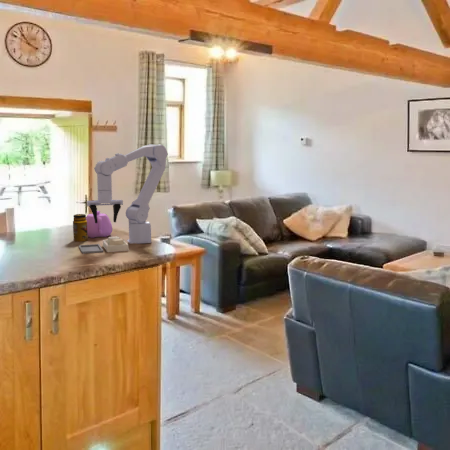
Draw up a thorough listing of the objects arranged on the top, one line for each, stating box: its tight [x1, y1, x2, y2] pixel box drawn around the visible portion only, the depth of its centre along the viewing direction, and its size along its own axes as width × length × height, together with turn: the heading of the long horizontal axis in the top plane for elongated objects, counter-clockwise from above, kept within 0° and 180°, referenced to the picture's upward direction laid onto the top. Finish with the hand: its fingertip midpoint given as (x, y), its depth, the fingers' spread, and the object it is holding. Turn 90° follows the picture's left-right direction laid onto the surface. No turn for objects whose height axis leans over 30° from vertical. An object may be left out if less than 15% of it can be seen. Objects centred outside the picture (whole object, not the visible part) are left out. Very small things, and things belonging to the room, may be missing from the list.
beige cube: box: [110, 238, 124, 245], centre depth 209 cm, size 4×4×4 cm
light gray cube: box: [107, 235, 121, 245], centre depth 214 cm, size 4×4×4 cm
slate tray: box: [78, 243, 105, 255], centre depth 210 cm, size 8×13×1 cm, turn 21°
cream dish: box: [102, 238, 129, 253], centre depth 212 cm, size 8×12×3 cm
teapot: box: [86, 210, 113, 239], centre depth 241 cm, size 20×13×12 cm, turn 23°
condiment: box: [72, 213, 89, 243], centre depth 227 cm, size 7×8×12 cm
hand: (105, 222), depth 216 cm, fingers open, 7 cm apart
